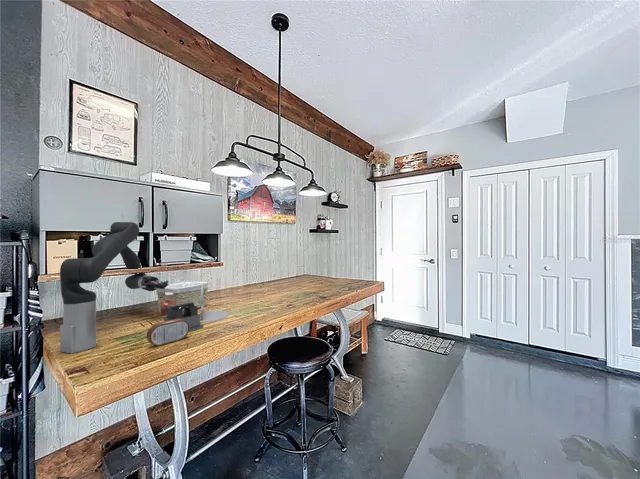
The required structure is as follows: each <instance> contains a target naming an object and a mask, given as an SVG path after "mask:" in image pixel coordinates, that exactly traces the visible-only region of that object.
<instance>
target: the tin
mask: <svg viewBox="0 0 640 479" xmlns="http://www.w3.org/2000/svg"><path fill="white" fill-rule="evenodd" d="M189 333H190V331H189V324H188V322H187V321H185V320H184V319H180V318H179V319H174V320H169V321H159V322H156V323H154V324H153V325H152V326H150V328H148V330H147V332H146V340H147V342H148V343H149V344H151V345H153V346H156V347H157V346H158V347H159V346H163V345H167V344H172V343H176V342H178V341H182V340H183V339H185V338H186V337H187V335H188V334H189Z"/></svg>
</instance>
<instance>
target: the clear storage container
mask: <svg viewBox="0 0 640 479" xmlns="http://www.w3.org/2000/svg"><path fill="white" fill-rule="evenodd" d="M202 285H203V288H204V307H205V306H206V305H207V299H208V298H207V296H208V289H209V282H207V281H191V280H190V281H184V282H177V283H171V284H170V283H169V284H168V286H167V287H165V289H159V288H158V289H156V295H157V303H158V304H157V306H158V313H160V301H163V300H168V299H174V298H176V305H179V304H184V303H189V302H194V305H195V306H197V309H200V308H201V286H202Z"/></svg>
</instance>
